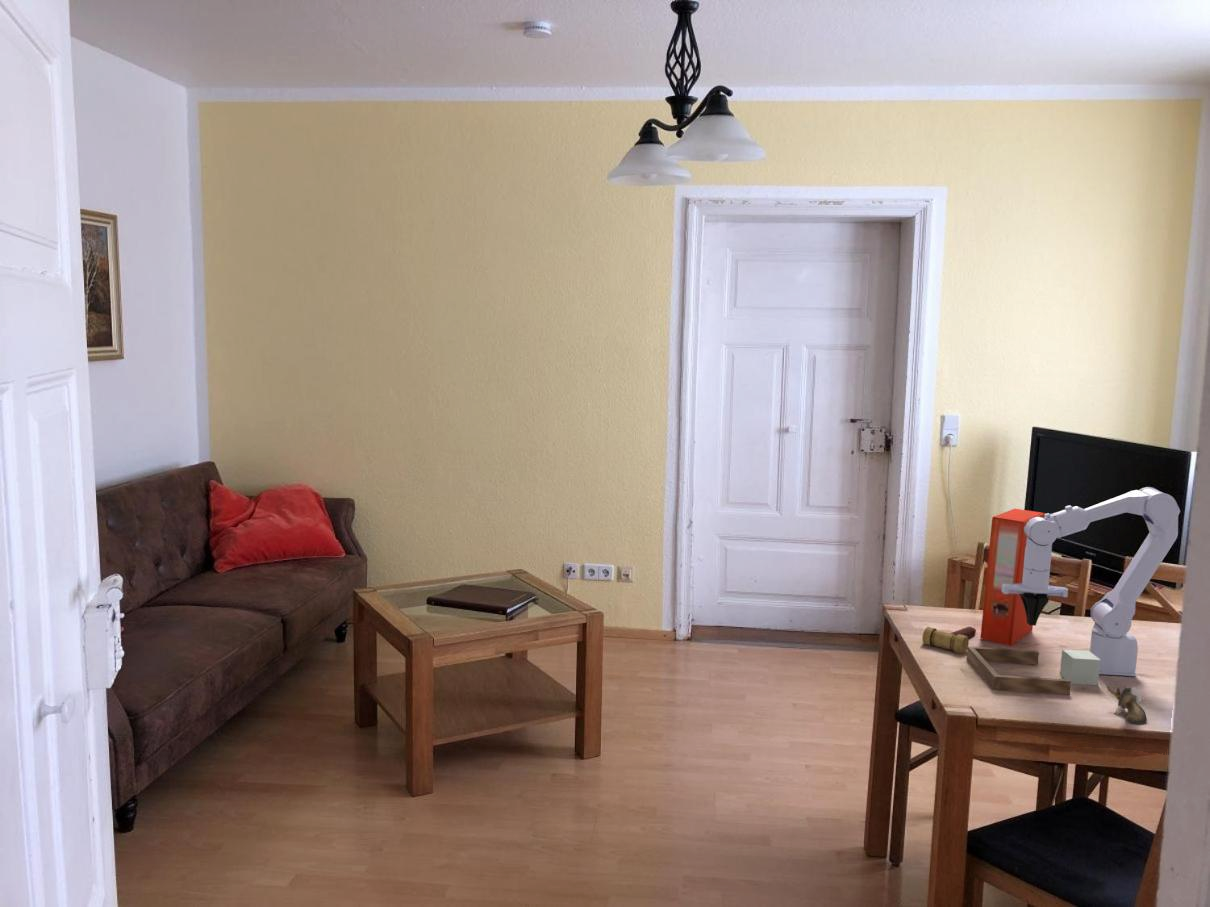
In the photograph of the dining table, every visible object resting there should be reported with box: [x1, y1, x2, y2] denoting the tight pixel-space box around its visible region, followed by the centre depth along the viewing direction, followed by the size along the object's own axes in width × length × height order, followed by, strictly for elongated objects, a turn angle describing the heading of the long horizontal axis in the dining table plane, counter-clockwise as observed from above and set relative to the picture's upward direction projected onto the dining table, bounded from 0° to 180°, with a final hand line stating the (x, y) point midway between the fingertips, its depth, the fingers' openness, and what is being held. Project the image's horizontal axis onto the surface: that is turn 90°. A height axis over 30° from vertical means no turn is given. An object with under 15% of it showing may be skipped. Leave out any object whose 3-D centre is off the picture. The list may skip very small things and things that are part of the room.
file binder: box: [979, 508, 1046, 647], centre depth 248 cm, size 8×17×32 cm, turn 140°
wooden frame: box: [966, 645, 1072, 695], centre depth 220 cm, size 16×20×3 cm
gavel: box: [922, 626, 977, 655], centre depth 244 cm, size 21×5×10 cm
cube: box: [1059, 649, 1101, 686], centre depth 219 cm, size 6×6×6 cm
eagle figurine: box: [1105, 685, 1148, 726], centre depth 199 cm, size 8×7×9 cm
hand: (1031, 624), depth 229 cm, fingers closed
